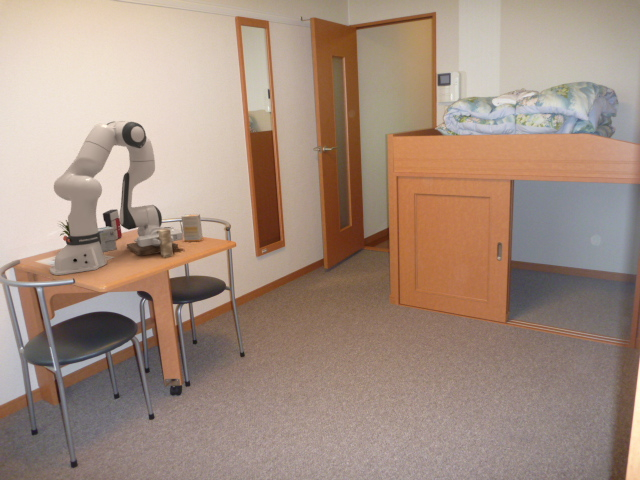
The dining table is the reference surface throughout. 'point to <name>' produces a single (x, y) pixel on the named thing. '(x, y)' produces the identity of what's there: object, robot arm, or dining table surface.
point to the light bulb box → (107, 238)
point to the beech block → (165, 243)
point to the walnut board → (147, 248)
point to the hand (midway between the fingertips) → (166, 241)
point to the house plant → (65, 228)
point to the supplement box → (192, 227)
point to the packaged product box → (113, 222)
